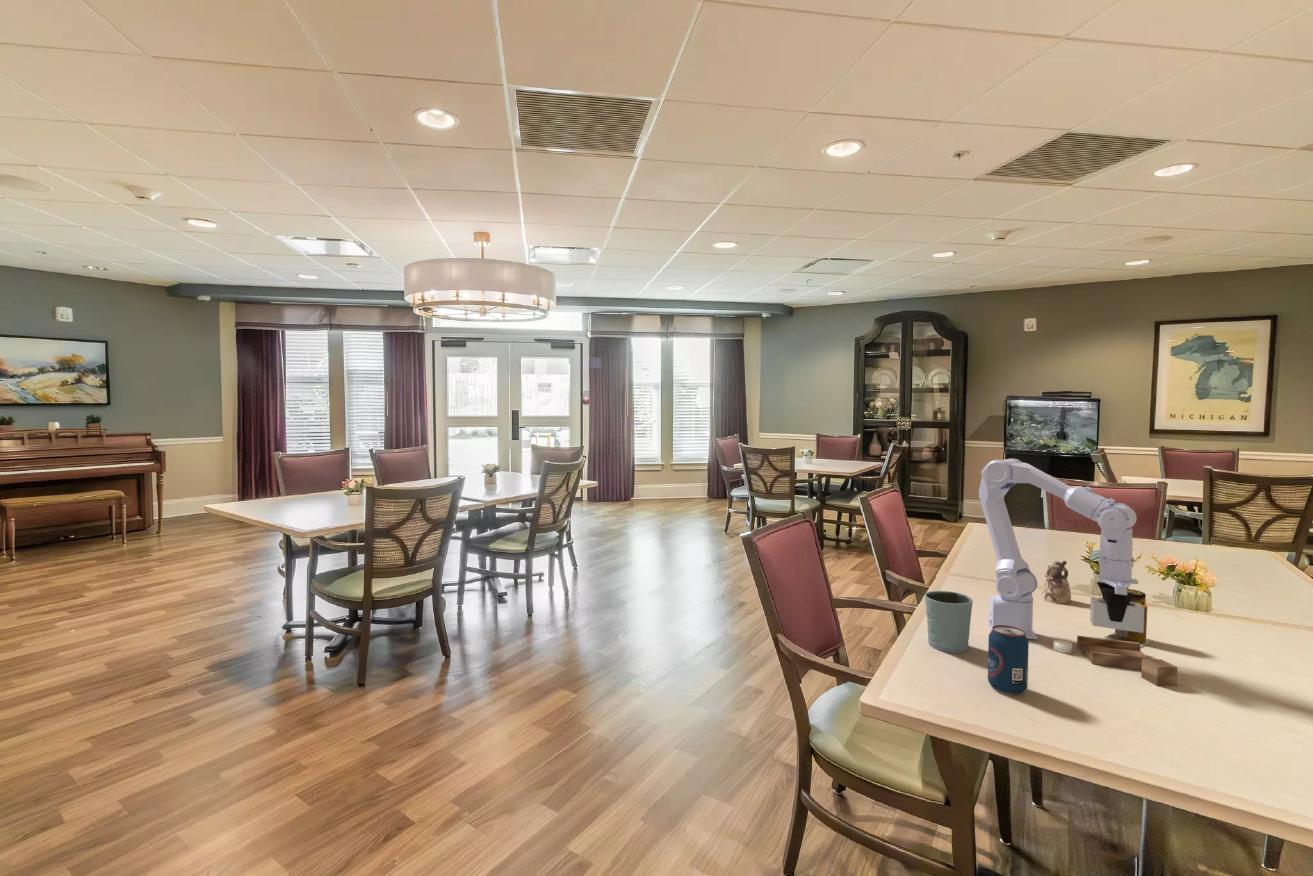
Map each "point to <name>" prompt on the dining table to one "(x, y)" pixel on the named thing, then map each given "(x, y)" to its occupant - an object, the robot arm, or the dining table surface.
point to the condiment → (1130, 635)
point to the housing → (1101, 619)
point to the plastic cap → (1062, 646)
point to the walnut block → (1159, 672)
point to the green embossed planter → (948, 620)
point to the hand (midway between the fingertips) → (1114, 618)
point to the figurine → (1056, 584)
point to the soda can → (1008, 660)
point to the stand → (1112, 652)
